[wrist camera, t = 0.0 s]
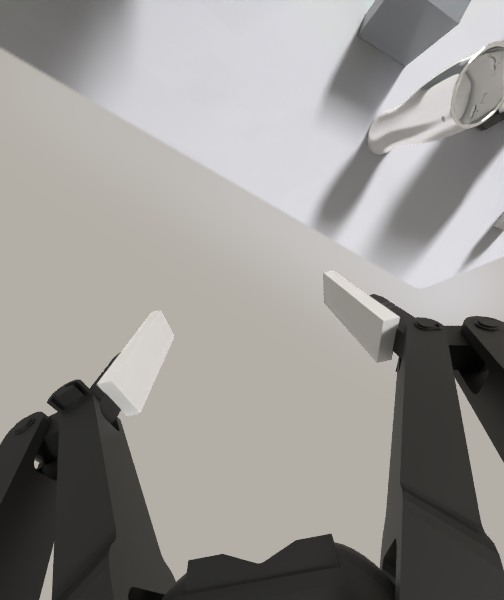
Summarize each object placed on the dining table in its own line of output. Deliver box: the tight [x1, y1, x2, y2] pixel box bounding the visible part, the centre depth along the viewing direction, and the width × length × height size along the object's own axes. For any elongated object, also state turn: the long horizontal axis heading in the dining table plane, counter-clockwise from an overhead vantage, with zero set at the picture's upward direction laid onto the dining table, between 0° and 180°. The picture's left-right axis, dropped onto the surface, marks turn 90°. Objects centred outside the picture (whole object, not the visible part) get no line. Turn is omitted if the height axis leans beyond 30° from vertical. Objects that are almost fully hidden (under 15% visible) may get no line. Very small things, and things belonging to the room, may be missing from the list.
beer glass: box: [368, 41, 504, 154], centre depth 26 cm, size 7×7×15 cm
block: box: [358, 0, 471, 66], centre depth 24 cm, size 2×9×8 cm, turn 72°
